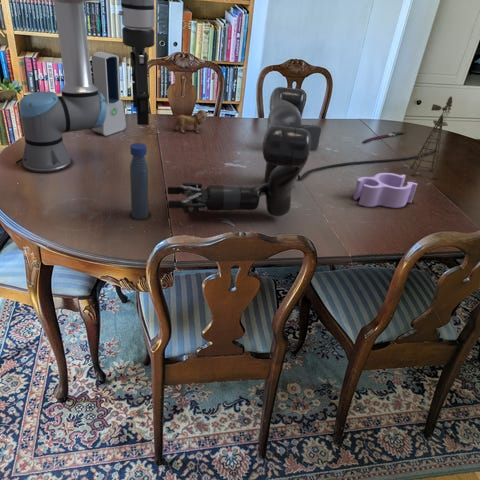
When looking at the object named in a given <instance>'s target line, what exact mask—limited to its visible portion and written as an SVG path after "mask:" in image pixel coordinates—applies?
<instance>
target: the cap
mask: <svg viewBox="0 0 480 480" xmlns="http://www.w3.org/2000/svg"><path fill="white" fill-rule="evenodd" d="M129 149H130V156H132V157H133V156H138V157H140V156H144V157H145V156H146V155H147V145H146V144H145V143H140V142H136V143H132V144H130V148H129Z"/></svg>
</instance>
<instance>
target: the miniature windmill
mask: <svg viewBox="0 0 480 480" xmlns="http://www.w3.org/2000/svg"><path fill="white" fill-rule="evenodd" d="M445 103H446V104H445V106H444V107H442V106H441V105H438V104H434V103H433V104H432V106H431V109H430V110H431V111H438V112H439V111H442V114H440V116H439V117H438V118H437V120H436V119H435V120H434V119H433V121H432V123H433V125H434V126H433V127H432V129H431V132H430V134H429V135H428V137H427V138H426V140H425V142H424V143H423V146H422V147H421V148H420V150H419V152H418V153H417V155H418V156H417V157H416V158H414V161H413V163H412V165H411V167H410V168H412V169H413V168H414V166H416V168H415V170H414V172H413V176H416V174H417V172H418V170H419V168H423V169H429V170H430V172H431V171H432V172H433V171H434V174H433V179H436V177H437V171H438V169H439V168H438V161H439V157H440V155H439V154H440V146H441V138H442V133H443V127H448V126H449V124H448V122H447V119H445V117H446V116H449V115H450V113H451V112H450V111H451V110H452V108H451V107H453V105H452V104H453V97H452V96H449V97H448V99H447V101H446V102H445ZM438 127H439V128H438ZM436 133H437V138H434V136H435V135H436ZM432 140H433V141H432ZM431 144H435V148H429V147H430V145H431ZM423 150H424V151H423ZM428 150H429V151H433V150H434V151H435V152H433V153H430V154H429V153H427V151H428ZM421 154H423V155H422V156H421V157H420V155H421ZM425 154H428V155H429V156H433V157H432V160H427V159H424V157H425V156H426V155H425ZM417 161H419V162H417ZM422 162H427V163H431V167H430V166H429V167H428V166H422V165H421V164H422Z"/></svg>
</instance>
